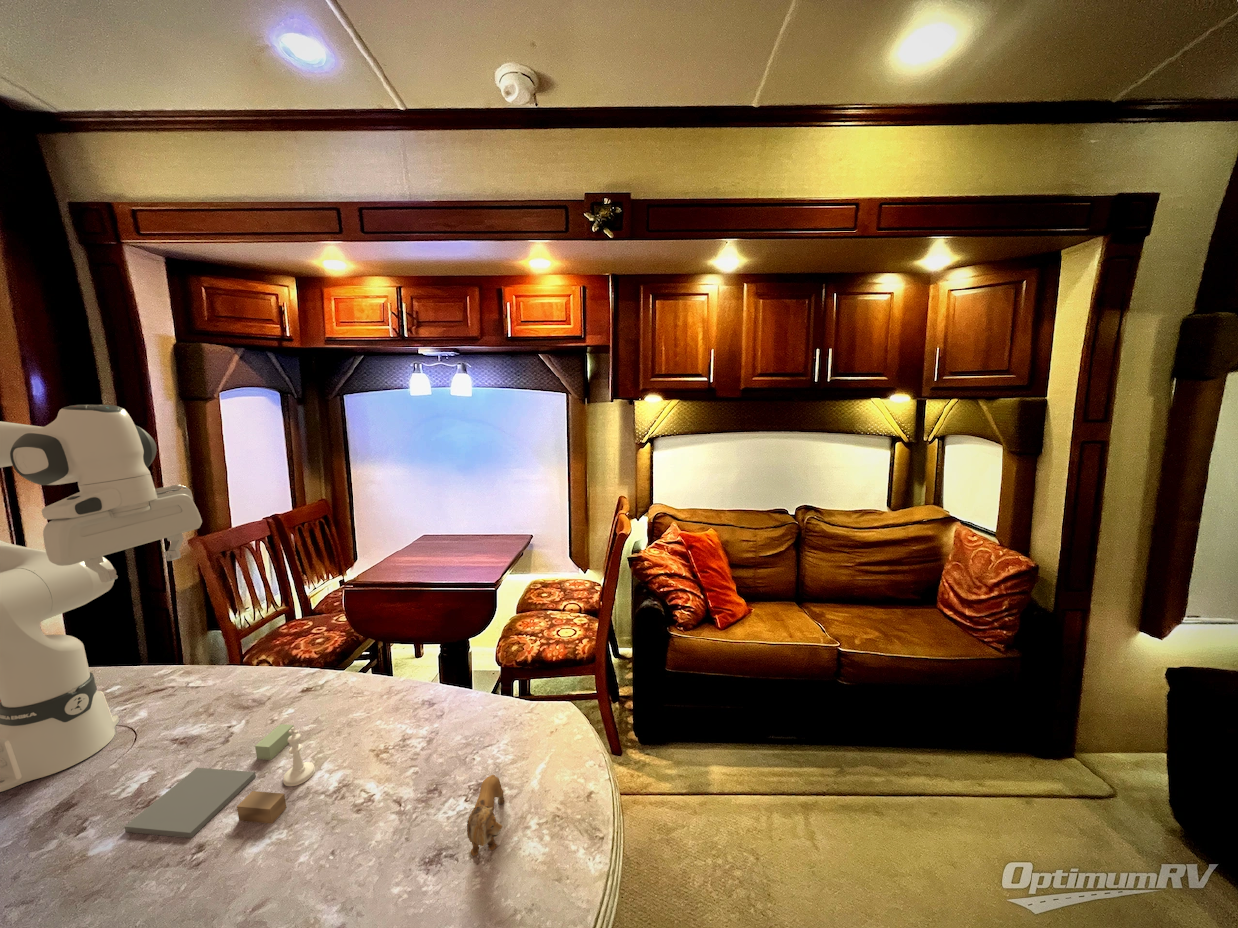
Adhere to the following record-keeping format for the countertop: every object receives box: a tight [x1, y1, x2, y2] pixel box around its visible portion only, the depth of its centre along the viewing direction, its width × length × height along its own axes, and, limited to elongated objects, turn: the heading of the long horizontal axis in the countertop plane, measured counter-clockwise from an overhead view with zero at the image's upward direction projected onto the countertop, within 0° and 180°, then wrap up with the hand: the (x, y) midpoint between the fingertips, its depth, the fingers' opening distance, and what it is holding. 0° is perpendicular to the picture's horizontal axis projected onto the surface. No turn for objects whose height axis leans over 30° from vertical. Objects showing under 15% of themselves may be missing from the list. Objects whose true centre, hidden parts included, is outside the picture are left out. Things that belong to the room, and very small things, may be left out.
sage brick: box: [254, 723, 295, 761], centre depth 94 cm, size 6×3×3 cm, turn 174°
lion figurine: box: [466, 774, 505, 857], centre depth 75 cm, size 15×5×9 cm, turn 13°
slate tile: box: [124, 767, 257, 839], centre depth 81 cm, size 12×12×1 cm
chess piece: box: [282, 726, 316, 787], centre depth 86 cm, size 5×5×10 cm
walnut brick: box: [236, 790, 288, 825], centre depth 79 cm, size 6×3×3 cm, turn 84°
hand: (143, 569), depth 84 cm, fingers open, 8 cm apart
